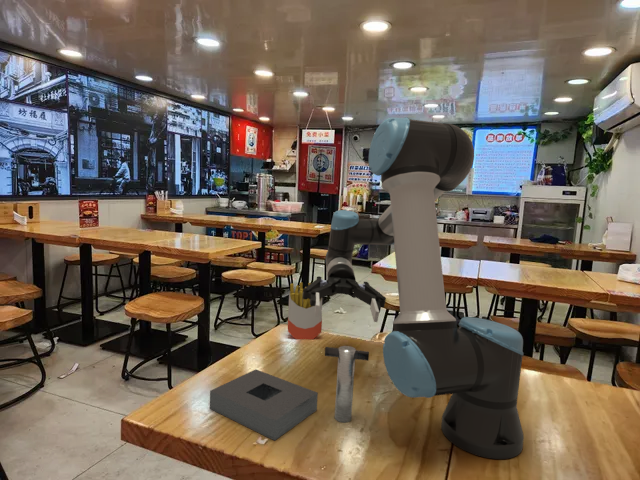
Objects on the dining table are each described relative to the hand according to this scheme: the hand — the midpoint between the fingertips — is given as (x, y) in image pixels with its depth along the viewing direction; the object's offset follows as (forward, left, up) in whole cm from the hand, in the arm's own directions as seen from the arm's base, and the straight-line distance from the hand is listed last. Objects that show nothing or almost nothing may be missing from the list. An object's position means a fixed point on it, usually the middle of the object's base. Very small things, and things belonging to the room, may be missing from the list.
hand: (347, 313), depth 90 cm
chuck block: (+11, +15, -20) cm, 27 cm away
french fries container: (+31, -27, -20) cm, 46 cm away
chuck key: (-4, +7, -20) cm, 22 cm away
